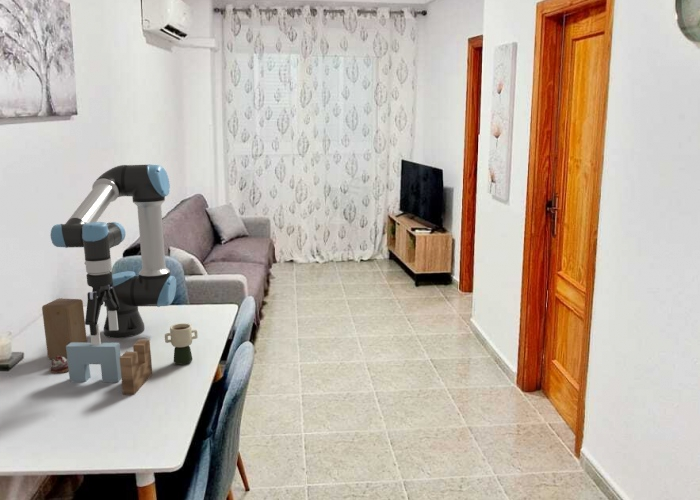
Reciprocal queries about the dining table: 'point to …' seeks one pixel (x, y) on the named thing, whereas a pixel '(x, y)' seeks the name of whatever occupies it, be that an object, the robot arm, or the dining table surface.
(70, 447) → the dining table surface
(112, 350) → the blue arch block
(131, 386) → the wooden stepped blocks
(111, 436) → the dining table surface
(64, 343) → the wooden block
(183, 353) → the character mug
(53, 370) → the pastry
